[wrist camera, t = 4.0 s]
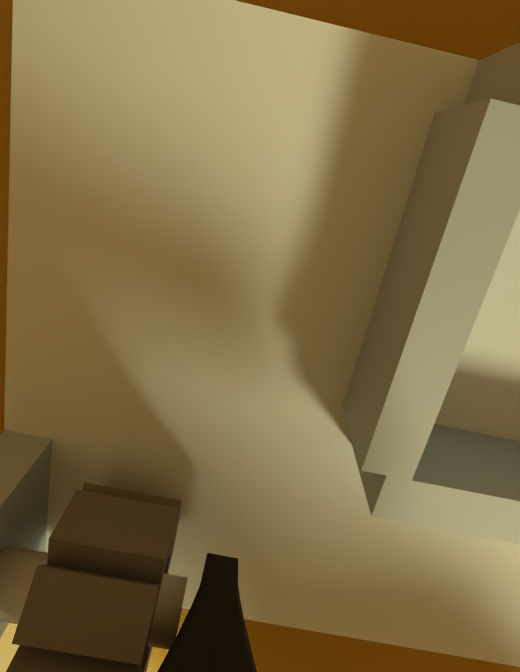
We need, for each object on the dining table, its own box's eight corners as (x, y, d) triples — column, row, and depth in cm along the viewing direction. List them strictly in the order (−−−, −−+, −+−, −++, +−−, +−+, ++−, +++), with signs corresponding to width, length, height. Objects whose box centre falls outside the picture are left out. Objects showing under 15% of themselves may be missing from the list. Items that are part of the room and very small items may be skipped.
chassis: (541, 637, 16) (669, 866, 11) (21, 544, 15) (-108, 747, 10) (831, 161, 10) (1362, 169, 5) (44, -30, 9) (-216, -238, 4)
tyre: (165, 594, 13) (117, 790, 9) (86, 580, 13) (2, 773, 9) (189, 465, 12) (145, 633, 8) (100, 449, 12) (7, 610, 8)
